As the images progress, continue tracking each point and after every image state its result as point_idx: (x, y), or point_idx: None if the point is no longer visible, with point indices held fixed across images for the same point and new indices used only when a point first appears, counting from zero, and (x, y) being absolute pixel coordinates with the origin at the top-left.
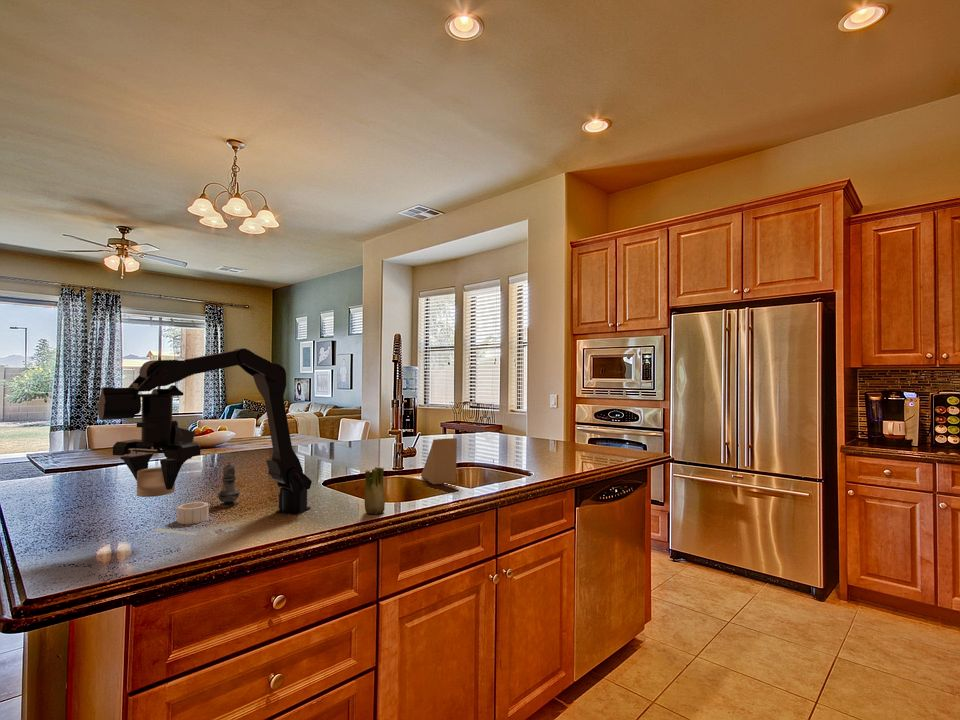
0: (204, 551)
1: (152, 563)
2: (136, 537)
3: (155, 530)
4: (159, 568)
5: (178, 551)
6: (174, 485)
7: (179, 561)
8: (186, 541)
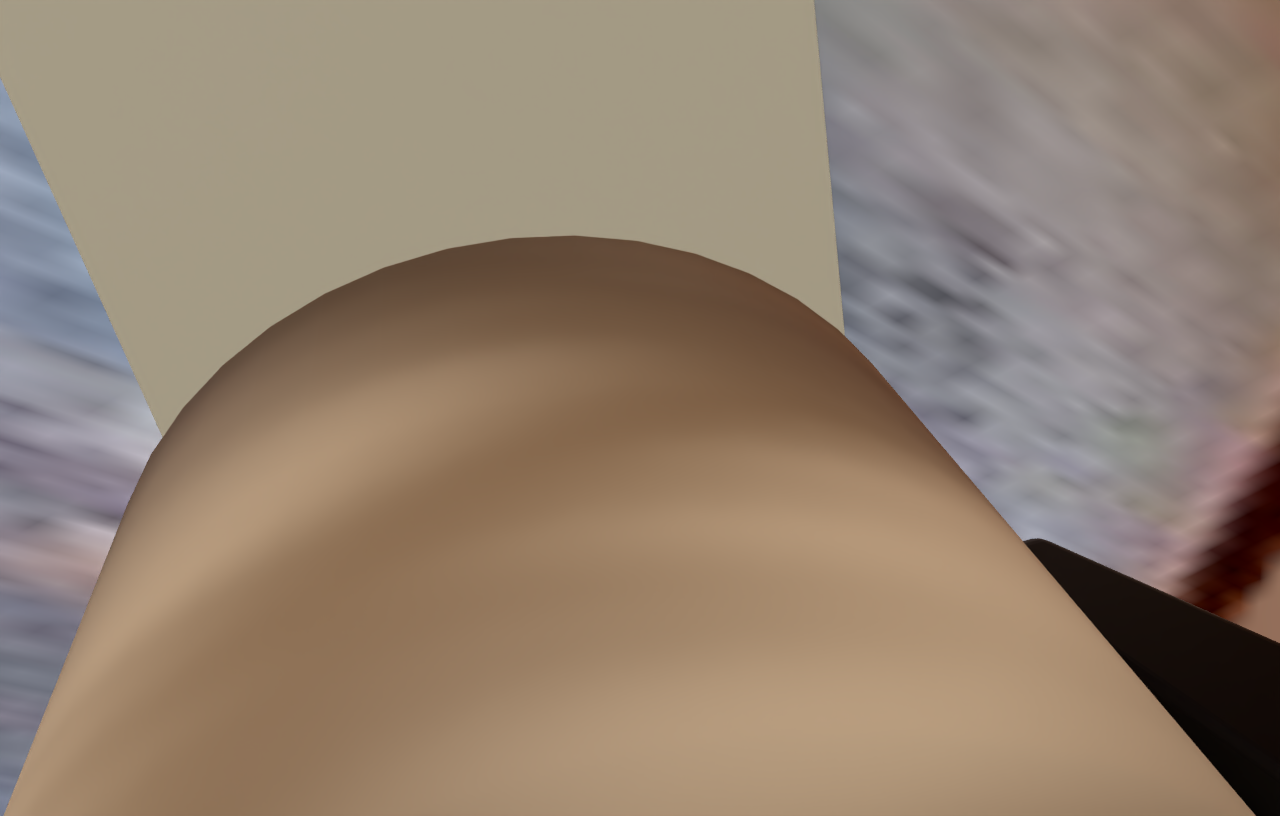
0: (1276, 125)
1: (1047, 532)
2: (55, 256)
3: (41, 19)
4: (1189, 549)
5: (1018, 264)
6: (913, 416)
7: (1231, 397)
8: (817, 14)
